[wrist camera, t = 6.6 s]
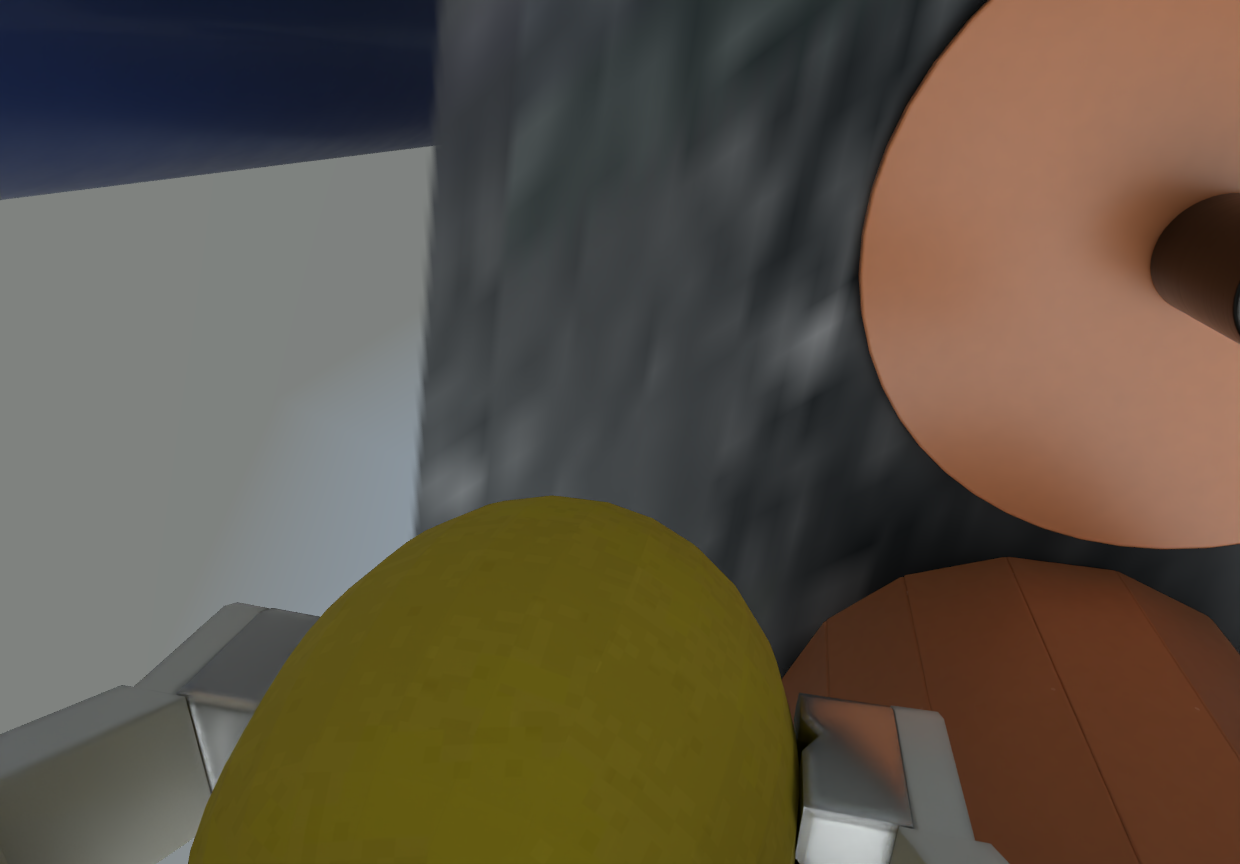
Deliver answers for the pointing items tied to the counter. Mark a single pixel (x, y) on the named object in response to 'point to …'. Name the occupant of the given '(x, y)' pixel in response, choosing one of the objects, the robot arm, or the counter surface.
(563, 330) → the counter surface
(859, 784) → the robot arm
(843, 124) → the counter surface
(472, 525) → the lemon
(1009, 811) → the pot
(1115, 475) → the lid
